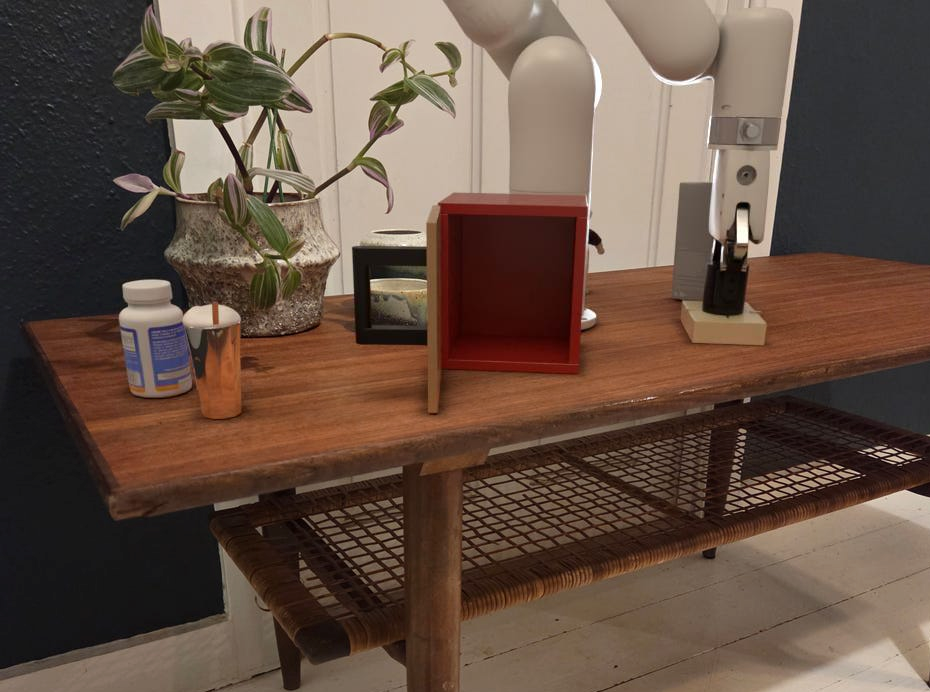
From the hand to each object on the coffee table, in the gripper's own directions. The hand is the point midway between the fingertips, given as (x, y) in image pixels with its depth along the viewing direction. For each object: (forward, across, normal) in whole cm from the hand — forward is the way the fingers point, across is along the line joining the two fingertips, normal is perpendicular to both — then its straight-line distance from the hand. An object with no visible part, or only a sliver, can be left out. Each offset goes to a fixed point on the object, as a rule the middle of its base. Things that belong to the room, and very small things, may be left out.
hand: (723, 299), depth 104 cm
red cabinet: (+4, -15, +24) cm, 29 cm away
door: (+4, -29, +33) cm, 44 cm away
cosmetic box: (+4, +21, -1) cm, 21 cm away
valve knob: (+1, 0, 0) cm, 1 cm away
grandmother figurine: (+4, +23, +17) cm, 29 cm away
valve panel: (+4, 0, 0) cm, 4 cm away
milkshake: (+4, -38, +47) cm, 61 cm away
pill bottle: (+4, -32, +55) cm, 64 cm away
